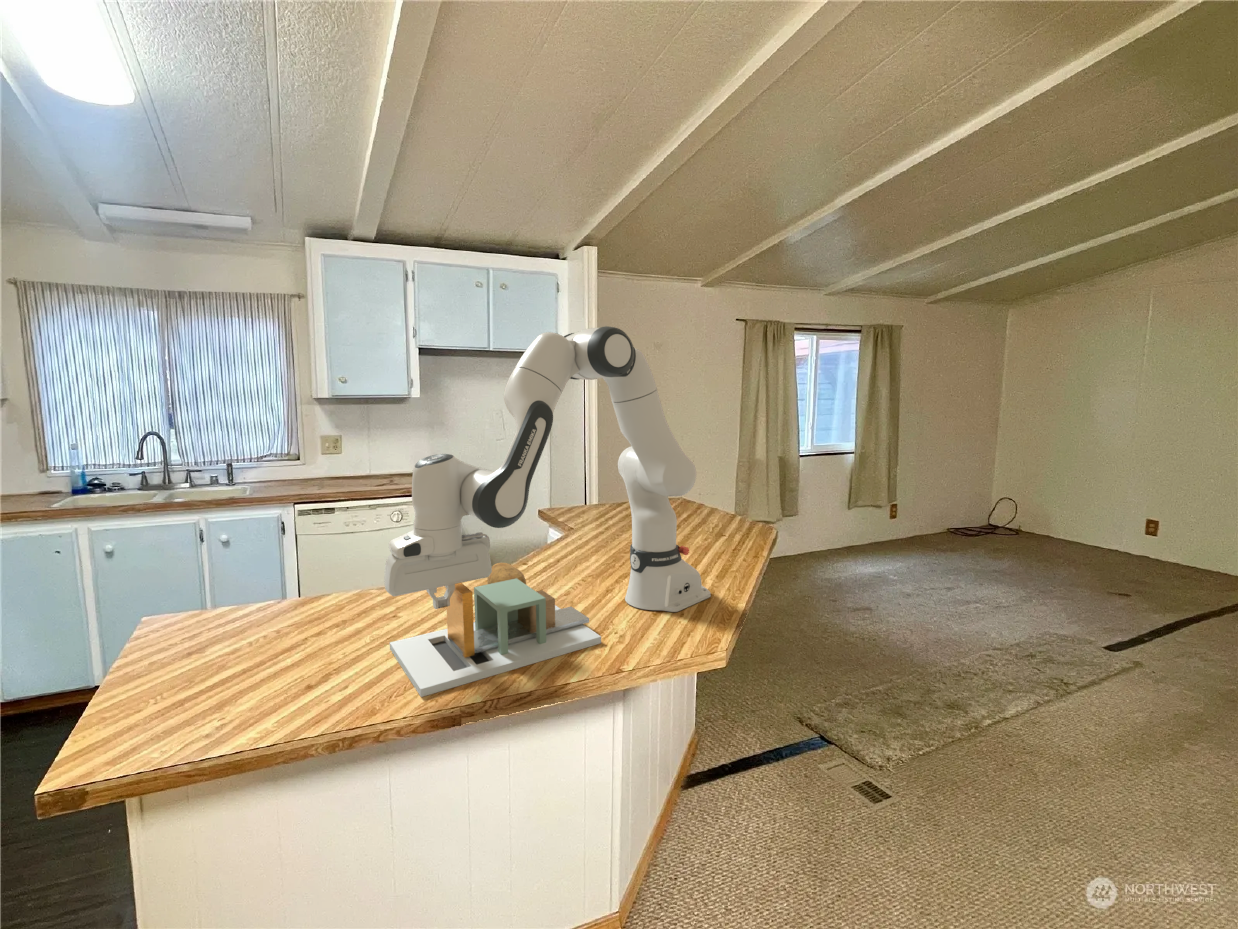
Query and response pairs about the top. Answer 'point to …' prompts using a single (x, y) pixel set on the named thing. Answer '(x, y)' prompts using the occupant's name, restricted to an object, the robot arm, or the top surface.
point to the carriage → (487, 638)
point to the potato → (505, 573)
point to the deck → (478, 657)
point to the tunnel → (507, 608)
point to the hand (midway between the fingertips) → (441, 606)
